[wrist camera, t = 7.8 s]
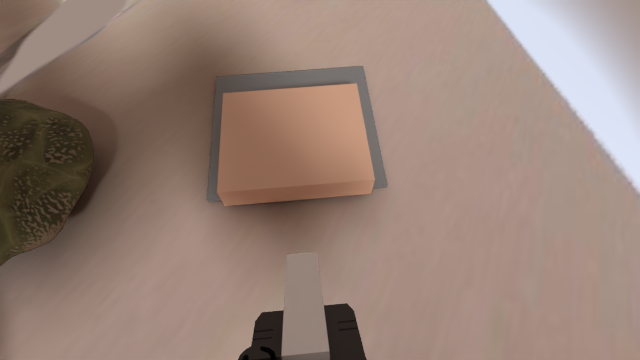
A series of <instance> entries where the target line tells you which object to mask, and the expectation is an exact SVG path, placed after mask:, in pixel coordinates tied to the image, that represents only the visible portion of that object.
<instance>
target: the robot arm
mask: <svg viewBox="0 0 640 360" xmlns="http://www.w3.org/2000/svg"><path fill="white" fill-rule="evenodd" d="M238 360H367V359H366V357H365V354H364V350H363V346H362V342H361V338H360V334H359V330H358V326H357V322H356V318H355V314H354V311H353V309H352V308H351V307H350V306H349V305H348V304H347V303H346V304H336V305H326V306H324V303H323V295H322V287H321V279H320V271H319V263H318V255H317V252H307V253H295V254H287V256H286V275H285V295H284V310H283V311H273V312H263V313H261V314H260V316H259V317H258V319H257V320H256V321H255V327H254V333H253V341H252V345H251V347H249V348H247V349H246V350H245V351H244V352H243V353H242V354H241V355H240V357H239V359H238Z"/></svg>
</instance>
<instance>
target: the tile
mask: <svg viewBox="0 0 640 360" xmlns="http://www.w3.org/2000/svg"><path fill="white" fill-rule="evenodd" d="M374 181H375V177H374V172H373V166H372V161H371V156H370V151H369V145H368V140H367V135H366V129H365V124H364V119H363V114H362V108H361V103H360V98H359V92H358V87H357V83H354V84H341V85H327V86H314V87H300V88H287V89H273V90H259V91H246V92H232V93H223V103H222V120H221V136H220V152H219V168H218V184H217V193H218V195H219V197H220V199H221V200H222V202H223V204H224V205H225V206H232V205H244V204H256V203H267V202H279V201H291V200H303V199H315V198H327V197H339V196H350V195H362V194H371V193H372V189H373V185H374Z"/></svg>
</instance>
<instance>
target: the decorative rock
mask: <svg viewBox="0 0 640 360" xmlns="http://www.w3.org/2000/svg"><path fill="white" fill-rule="evenodd" d="M93 161H94V150H93V145H92V140H91V137H90V134H89V132H88V130H87V128H86V127H85V126H84V125H83V124H82V123H80V122H79V121H78V120H76V119H74V118H72V117H70V116H68V115H65V114H63V113H60V112H56V111H53V110H49V109H46V108H42V107H40V106H37V105H34V104H32V103H29V102H27V101H23V100H15V99H4V100H0V266H1V265H3V264H4V263H5V262H6V261H7V260H8V259H10V258H11V257H13V256H16V255H18V254H20V253H23V252H26V251H29V250H32V249H35V248H37V247H39V246H42V245H44V244H46V243H48V242H50V241H51V240H53V239H54V238H55V237H56V236H57V234H58V233H59V232H60V231H61V230H62V228H63V226H64V224H65V222H66V220H67V217H68V216H69V214H70V213H71V211H72V209H73V207H74V205H75V204H76V202H77V201H78V199H79V198H80V196H81V194H82V193H83V191H84V189H85V188H86V186H87V184H88V181H89V178H90V175H91V171H92V168H93Z"/></svg>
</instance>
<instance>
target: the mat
mask: <svg viewBox="0 0 640 360" xmlns="http://www.w3.org/2000/svg"><path fill="white" fill-rule="evenodd" d="M354 83H357V87H358V92H359V98H360V103H361V108H362V114H363V119H364V124H365V129H366V135H367V140H368V145H369V151H370V156H371V161H372V166H373V172H374V177H375V181H374V185H373V188H385V187H387V180H386V175H385V171H384V166H383V161H382V156H381V151H380V146H379V141H378V137H377V132H376V127H375V122H374V117H373V112H372V107H371V103H370V98H369V93H368V88H367V83H366V78H365V73H364V69H363V66H357V67H343V68H329V69H315V70H301V71H287V72H273V73H259V74H245V75H231V76H217V77H216V90H215V102H214V115H213V128H212V141H211V153H210V166H209V179H208V191H207V201H208V202H215V201H222V200H221V199H220V197H219V195H218V193H217V184H218V168H219V152H220V136H221V120H222V103H223V93H232V92H246V91H259V90H273V89H287V88H300V87H314V86H327V85H341V84H354Z"/></svg>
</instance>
